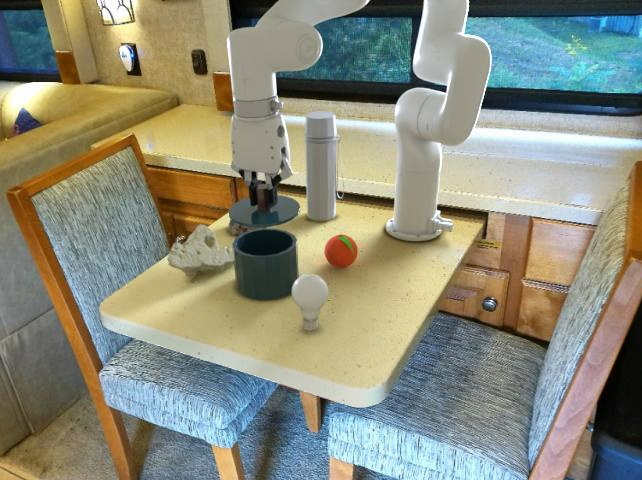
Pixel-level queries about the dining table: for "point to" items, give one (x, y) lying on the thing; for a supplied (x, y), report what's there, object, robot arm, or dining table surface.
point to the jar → (265, 263)
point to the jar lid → (264, 211)
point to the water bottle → (321, 165)
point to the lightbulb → (310, 298)
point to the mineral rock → (240, 228)
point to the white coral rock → (199, 253)
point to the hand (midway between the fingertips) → (263, 204)
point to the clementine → (341, 251)
